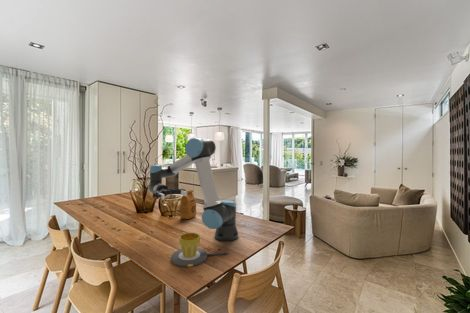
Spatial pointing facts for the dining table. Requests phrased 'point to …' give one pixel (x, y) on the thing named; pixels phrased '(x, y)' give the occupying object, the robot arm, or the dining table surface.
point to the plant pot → (189, 244)
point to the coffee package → (188, 206)
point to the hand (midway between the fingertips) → (175, 195)
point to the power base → (191, 258)
